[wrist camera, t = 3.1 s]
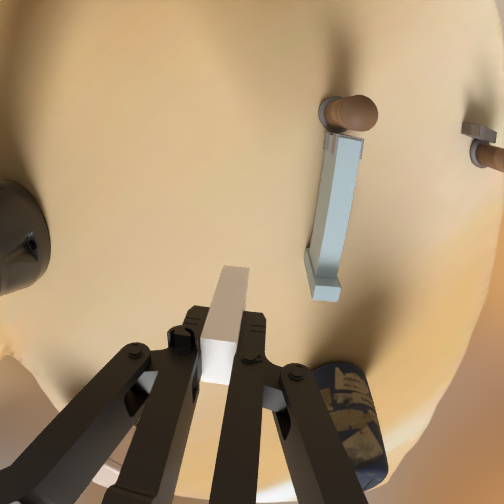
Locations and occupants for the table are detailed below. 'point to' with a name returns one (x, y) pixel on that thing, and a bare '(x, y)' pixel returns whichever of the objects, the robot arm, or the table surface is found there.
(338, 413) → the canister
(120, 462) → the container
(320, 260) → the gate
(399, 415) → the table surface
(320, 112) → the gateposts
